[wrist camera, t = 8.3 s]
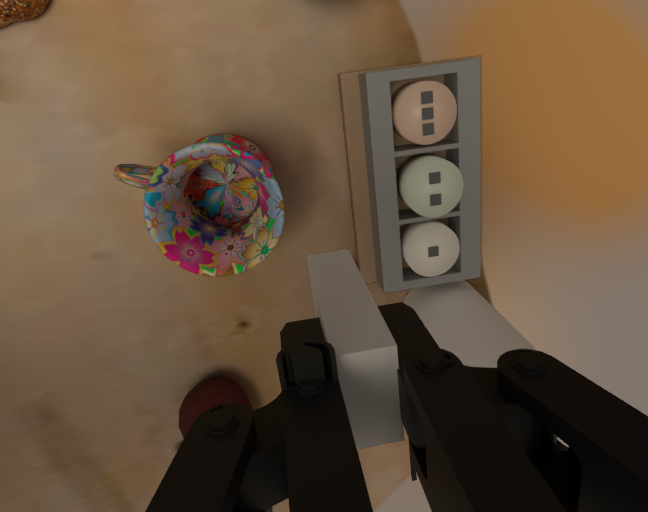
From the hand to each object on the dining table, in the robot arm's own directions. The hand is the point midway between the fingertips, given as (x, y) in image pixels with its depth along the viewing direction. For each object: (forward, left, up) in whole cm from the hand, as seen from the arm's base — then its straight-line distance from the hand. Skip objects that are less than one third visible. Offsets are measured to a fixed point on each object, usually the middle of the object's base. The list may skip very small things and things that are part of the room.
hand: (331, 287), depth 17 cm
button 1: (+11, -8, -25) cm, 28 cm away
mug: (-7, 0, -27) cm, 28 cm away
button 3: (+11, +3, -25) cm, 27 cm away
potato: (-11, -23, -27) cm, 37 cm away
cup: (+13, -17, -27) cm, 34 cm away
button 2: (+11, -2, -24) cm, 26 cm away
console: (+11, -2, -26) cm, 29 cm away
